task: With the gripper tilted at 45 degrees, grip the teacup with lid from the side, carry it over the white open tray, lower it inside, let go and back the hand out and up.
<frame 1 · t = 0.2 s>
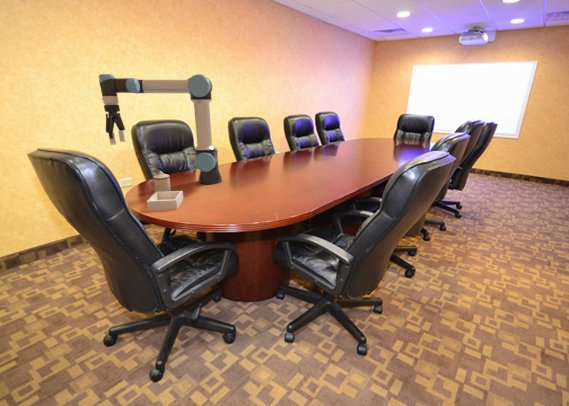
hand: (118, 143, 178), 28 cm above the table, tool pointing down, fingers open, 13 cm apart
teacup with lid: (160, 191, 183), on the table
white open tray: (166, 204, 161), on the table
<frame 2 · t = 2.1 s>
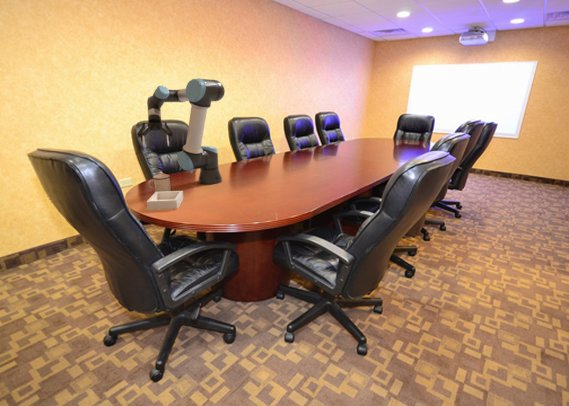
hand: (156, 145, 185), 26 cm above the table, tool tilted 45°, fingers open, 13 cm apart
nothing on the table moved.
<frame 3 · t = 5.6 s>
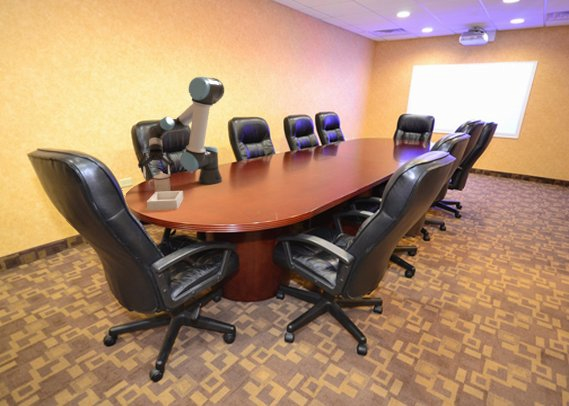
hand: (157, 176, 183), 8 cm above the table, tool tilted 45°, fingers open, 13 cm apart
teacup with lid: (160, 191, 183), on the table, touching gripper
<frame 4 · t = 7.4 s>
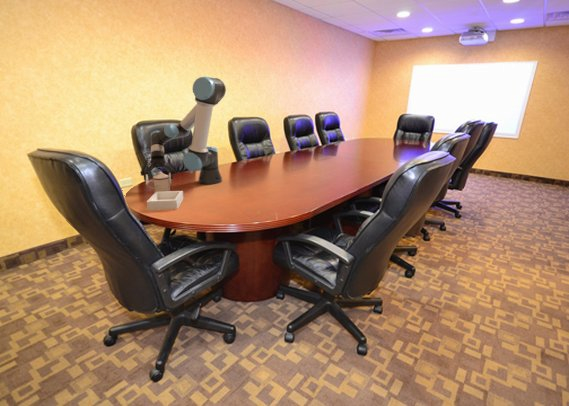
hand: (158, 184, 179), 5 cm above the table, tool tilted 45°, fingers closed on teacup with lid, 12 cm apart
teacup with lid: (160, 191, 183), on the table, touching gripper
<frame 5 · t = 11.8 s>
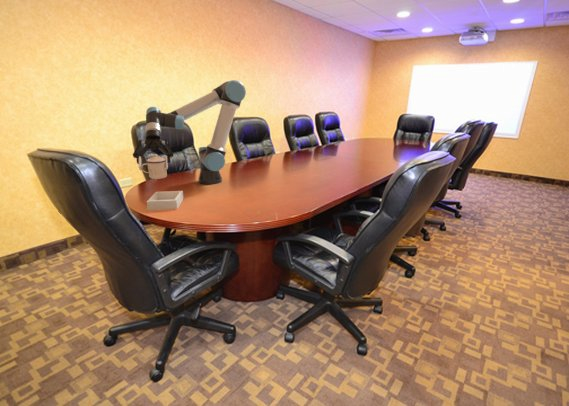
hand: (153, 168, 156), 19 cm above the table, tool tilted 45°, fingers closed on teacup with lid, 12 cm apart
teacup with lid: (155, 177, 160), point 13 cm above the table, touching gripper
when the fingers open (7 cm above the table, at t = 15.9 s): teacup with lid drops 1 cm, resting on white open tray.
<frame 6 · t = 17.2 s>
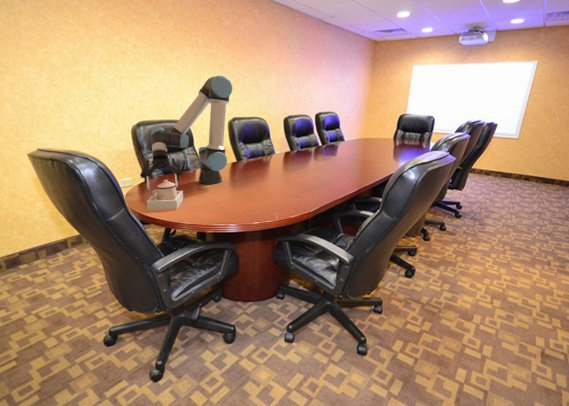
hand: (162, 187, 158), 9 cm above the table, tool tilted 45°, fingers open, 13 cm apart
teacup with lid: (166, 202, 160), point 1 cm above the table, touching gripper, white open tray
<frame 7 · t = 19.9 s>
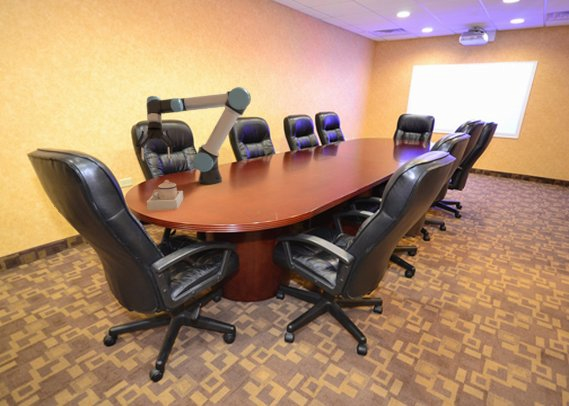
hand: (156, 159, 171), 20 cm above the table, tool tilted 30°, fingers open, 13 cm apart
teacup with lid: (166, 202, 160), point 1 cm above the table, touching white open tray
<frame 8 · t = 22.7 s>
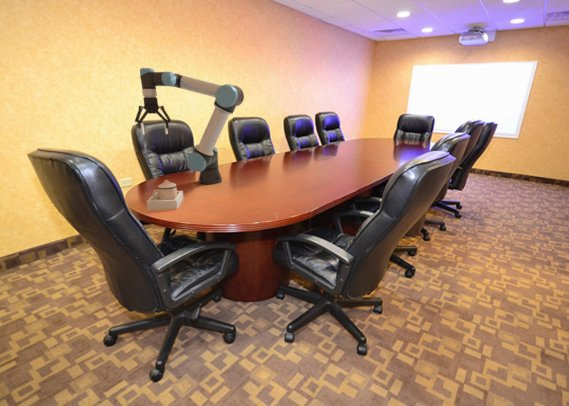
hand: (155, 134, 187), 32 cm above the table, tool pointing down, fingers open, 13 cm apart
nothing on the table moved.
at the end: teacup with lid 0.3 cm off-centre on the white open tray, point 0.8 cm above the white open tray's base; teacup with lid tilted 0°; the gripper is holding nothing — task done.
